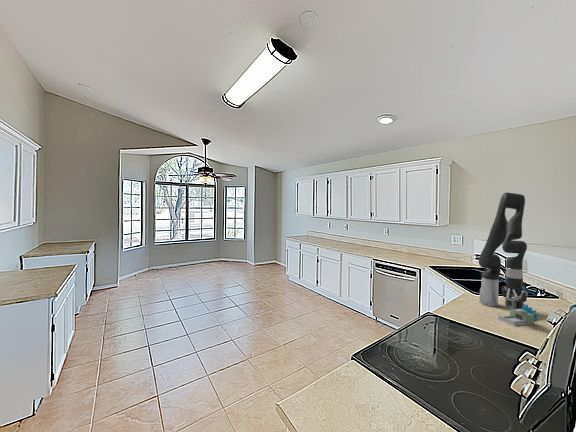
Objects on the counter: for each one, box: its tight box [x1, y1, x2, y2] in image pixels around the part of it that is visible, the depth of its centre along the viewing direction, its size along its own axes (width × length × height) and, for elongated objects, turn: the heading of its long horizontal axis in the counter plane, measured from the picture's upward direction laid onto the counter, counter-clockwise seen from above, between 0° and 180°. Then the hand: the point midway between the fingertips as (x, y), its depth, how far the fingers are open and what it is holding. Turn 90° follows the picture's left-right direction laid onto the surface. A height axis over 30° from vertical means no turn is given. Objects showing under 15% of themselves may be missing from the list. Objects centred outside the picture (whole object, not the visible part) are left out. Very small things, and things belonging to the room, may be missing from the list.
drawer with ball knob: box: [497, 308, 535, 327], centre depth 156 cm, size 10×13×6 cm
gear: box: [522, 303, 539, 321], centre depth 163 cm, size 11×6×10 cm
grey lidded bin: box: [504, 296, 525, 310], centre depth 155 cm, size 7×5×5 cm
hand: (513, 307), depth 156 cm, fingers closed on grey lidded bin, 4 cm apart
